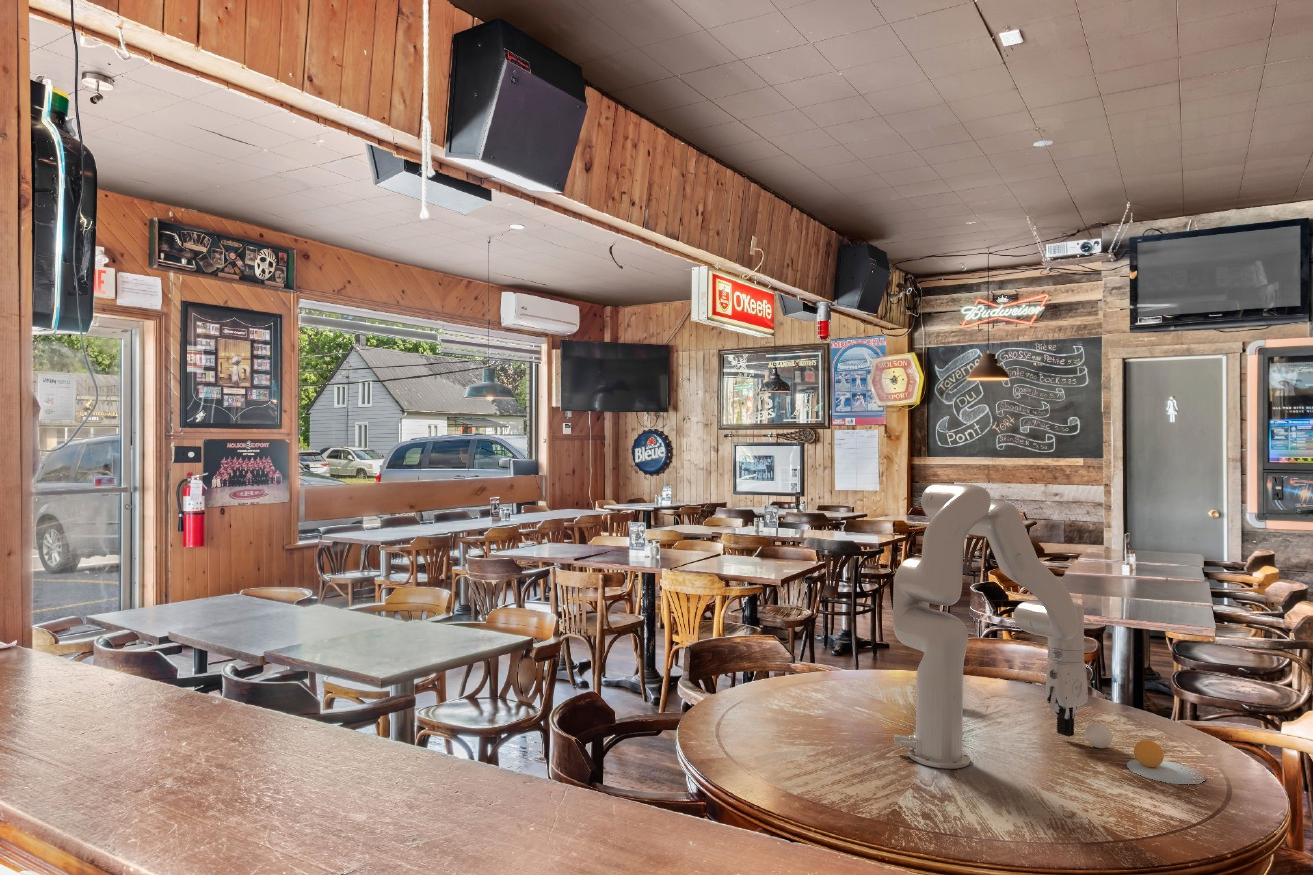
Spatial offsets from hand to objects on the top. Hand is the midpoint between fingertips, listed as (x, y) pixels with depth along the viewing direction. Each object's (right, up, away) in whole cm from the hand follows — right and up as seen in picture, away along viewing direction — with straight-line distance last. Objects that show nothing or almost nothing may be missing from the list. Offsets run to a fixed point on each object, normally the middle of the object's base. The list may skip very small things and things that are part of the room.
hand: (1065, 734), depth 191 cm
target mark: (+12, -1, -19) cm, 22 cm away
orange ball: (+10, +1, -16) cm, 19 cm away
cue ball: (+6, +1, -4) cm, 7 cm away
